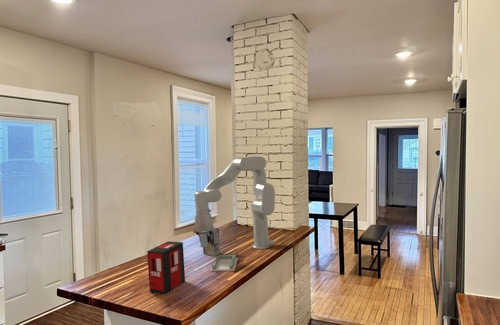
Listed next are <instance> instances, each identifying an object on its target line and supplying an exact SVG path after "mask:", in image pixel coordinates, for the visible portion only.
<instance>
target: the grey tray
mask: <svg viewBox="0 0 500 325" xmlns="http://www.w3.org/2000/svg"><path fill="white" fill-rule="evenodd" d="M238 259H239V258H238V257H236V254H218V255H216V256H215V259H214V261H213V263H212V265H211V268H210V272H235V270H236V266H237V263H238Z"/></svg>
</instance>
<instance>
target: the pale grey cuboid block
mask: <svg viewBox="0 0 500 325" xmlns="http://www.w3.org/2000/svg"><path fill="white" fill-rule="evenodd" d="M207 236H208V234H207V231H203V232H202V233H201V234H200V239H199V242H200V244H199V245H200V248H203V247H207V246H208V244H209V243H208V241H207Z"/></svg>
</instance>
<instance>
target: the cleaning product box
mask: <svg viewBox="0 0 500 325" xmlns="http://www.w3.org/2000/svg"><path fill="white" fill-rule="evenodd" d="M146 252H147V253H146V254H147V267H148V281H149V282H148V283H149V293H150V292H152V293H151V294H154V293H160V294H159V295H161V294H167V293H168V292H169V293H171V292H172V291H174V290H175V289H177V288H178V287H179V286H180V285H182V284H183V283H185V282H186V273H185V258H184V256H185V254H184V242H183V241H182V242H180V241H169V240H168V241H166V242H163V243H162V244H160V245H157V246H155V247H153V248H151V249H149V250H147V251H146ZM174 288H175V289H174ZM173 289H174V290H173ZM171 290H172V291H171ZM170 291H171V292H170ZM169 293H168V294H169ZM168 294H167V295H168Z"/></svg>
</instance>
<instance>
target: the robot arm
mask: <svg viewBox="0 0 500 325" xmlns="http://www.w3.org/2000/svg"><path fill="white" fill-rule="evenodd" d="M266 167H267V160H266V158H265V157H263V156H256V155H255V156H254V155H253V156H252V155H251V156H248V157H247V156H246V157H240V156H239V157H238V156H237V157H235V158H233V159H232V160H231V162H230V163H229V164H228V165H227V167H225V169H224V170H223V171H222V173H220V174H219V175H217V176H216V177H215V178H213V179H212V180H211V181H210V182H209V183H208V184H207V185H206V187H204V189H203V190H200V191H196V192H195V193H194V203H195V216H194V228H193V230H192V233H194V234H196V235H197V237H198V238H199V240H200V234H201V233H202V231H207V234H208V236H207V241H208V243H209V242H210V235H211V234H212V233H213V232H214V231H215V230H216V229H215V228H216V227H214V225H213V217H212V213H211V212H212V209H210V208H209V203H217V202H219V201H221V199H222V195H223V194H222V192H221V191H220V189H221V188H223V187H224V186H228V185H230V184H232V183H233V182H234V181H235V180H236V178H237V177H238V176H239V175H240V173H241V172H250V171H251V173H252V178H253V181H252V182H253V186H252V187H253V188H252V190H253V195H254V196H256V197H258V198H255V199H253V200H252V202H251V204H250V210H251V214H252V225H253V226H252V227H253V229H252V230H253V243H252V244H251V248H253V249H256V250H263V249H264V250H265V249H268V248H271V247H272V245H273V244H276V240H274V239H269V223H268V220H269V219H268V216H271V215H272V214H273V213H274V212H275V206H276V204H275V202H276V191H275V186H273V185H272V184H271V183H270V182H269V183H268V182H267V172H266V170H265V168H266ZM211 230H212V231H211Z"/></svg>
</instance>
